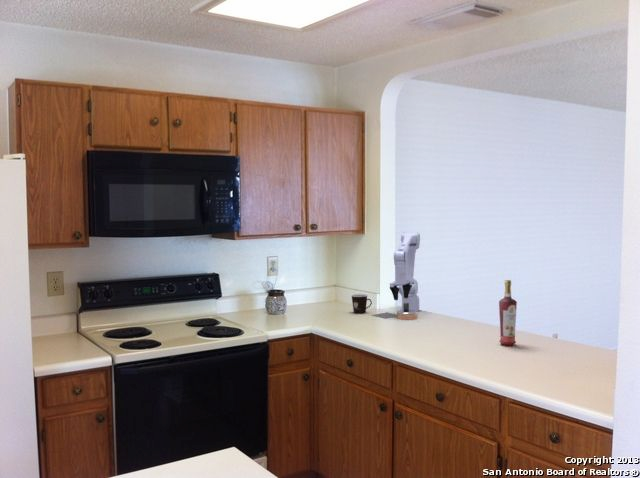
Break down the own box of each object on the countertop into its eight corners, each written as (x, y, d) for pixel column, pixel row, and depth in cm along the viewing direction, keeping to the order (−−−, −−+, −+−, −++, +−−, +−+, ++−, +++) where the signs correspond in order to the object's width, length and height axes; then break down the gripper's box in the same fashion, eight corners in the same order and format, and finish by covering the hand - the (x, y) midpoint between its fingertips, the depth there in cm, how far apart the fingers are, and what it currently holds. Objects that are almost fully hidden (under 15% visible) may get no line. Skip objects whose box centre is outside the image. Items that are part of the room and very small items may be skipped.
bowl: (407, 316, 335) (407, 310, 334) (420, 319, 326) (420, 313, 326) (393, 318, 329) (393, 313, 329) (406, 321, 321) (406, 316, 320)
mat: (387, 313, 343) (387, 312, 343) (402, 316, 334) (402, 315, 334) (370, 316, 337) (370, 315, 336) (385, 319, 327) (385, 318, 327)
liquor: (504, 347, 266) (505, 282, 264) (495, 343, 273) (495, 279, 271) (519, 346, 268) (520, 281, 266) (510, 342, 275) (510, 278, 273)
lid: (402, 310, 334) (402, 301, 334) (418, 312, 329) (418, 302, 328) (393, 313, 327) (393, 303, 326) (409, 315, 321) (409, 305, 321)
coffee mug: (349, 313, 346) (348, 295, 346) (362, 311, 350) (362, 293, 349) (359, 316, 336) (358, 298, 335) (373, 315, 340) (372, 296, 339)
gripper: (404, 271, 338) (404, 296, 339) (385, 274, 329) (385, 299, 330) (414, 272, 333) (414, 297, 334) (395, 275, 324) (395, 301, 325)
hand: (401, 299), depth 332 cm, fingers open, 7 cm apart
